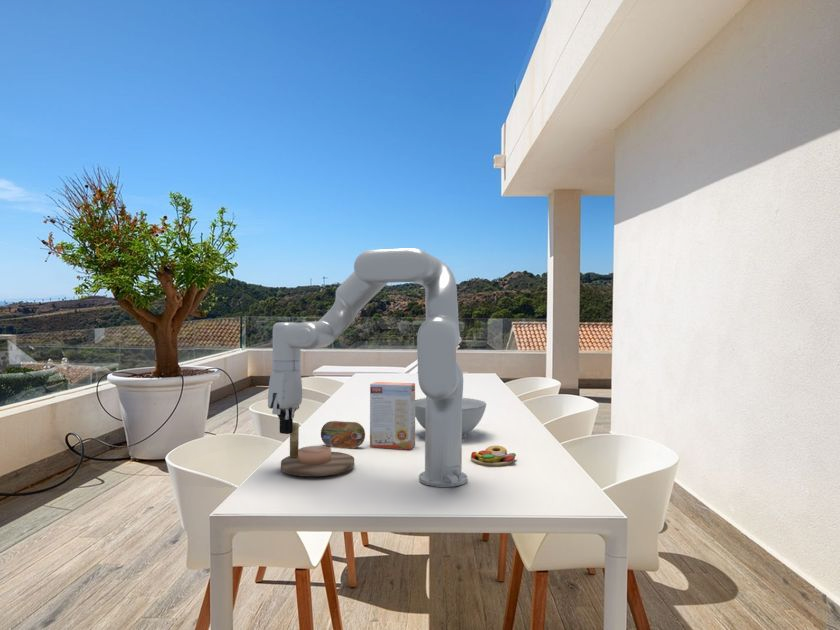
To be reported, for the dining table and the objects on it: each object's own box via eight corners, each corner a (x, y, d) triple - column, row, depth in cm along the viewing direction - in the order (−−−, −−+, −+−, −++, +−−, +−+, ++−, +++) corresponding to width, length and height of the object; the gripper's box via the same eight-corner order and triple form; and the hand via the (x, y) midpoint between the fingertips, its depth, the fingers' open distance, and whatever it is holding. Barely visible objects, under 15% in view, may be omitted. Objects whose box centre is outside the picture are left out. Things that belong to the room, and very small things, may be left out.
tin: (320, 446, 175) (320, 420, 175) (324, 444, 178) (324, 418, 178) (362, 450, 171) (362, 423, 171) (366, 447, 174) (366, 421, 174)
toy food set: (499, 454, 167) (499, 443, 167) (525, 464, 155) (525, 453, 155) (462, 459, 161) (462, 448, 161) (487, 470, 149) (487, 458, 149)
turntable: (363, 471, 143) (363, 430, 143) (286, 479, 135) (287, 436, 135) (344, 453, 161) (344, 417, 162) (276, 460, 154) (276, 421, 154)
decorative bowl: (430, 426, 209) (430, 395, 209) (495, 432, 198) (496, 400, 198) (397, 439, 185) (397, 404, 185) (470, 448, 173) (470, 411, 174)
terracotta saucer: (334, 463, 145) (334, 451, 145) (300, 466, 142) (300, 454, 142) (327, 455, 154) (327, 444, 154) (295, 457, 151) (295, 447, 151)
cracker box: (415, 446, 176) (416, 382, 176) (410, 450, 170) (411, 384, 170) (375, 443, 180) (375, 381, 180) (369, 447, 174) (369, 383, 174)
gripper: (291, 364, 156) (290, 427, 156) (257, 368, 143) (257, 437, 142) (313, 365, 154) (312, 429, 153) (281, 369, 140) (280, 440, 140)
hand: (286, 433), depth 148 cm, fingers closed
